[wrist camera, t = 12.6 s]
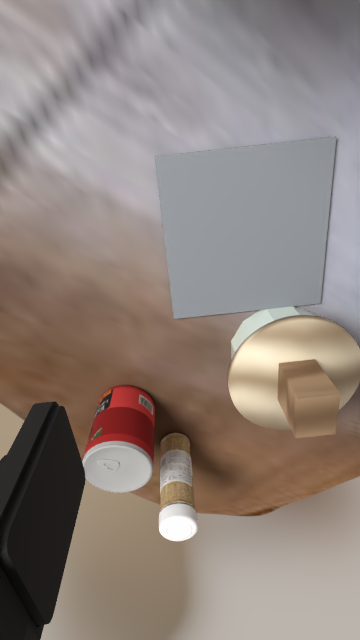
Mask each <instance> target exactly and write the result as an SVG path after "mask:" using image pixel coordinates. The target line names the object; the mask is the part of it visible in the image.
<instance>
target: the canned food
mask: <svg viewBox="0 0 360 640" xmlns="http://www.w3.org/2000/svg"><path fill="white" fill-rule="evenodd" d="M154 426H155V406H154V404H153V401H152V399H151V397H150V396H149V395H148V394H147V393H146V392H145V391H144V390H142V389H140V388H138V387H135V386H131V385H119V386H115V387H113V388H111V389H109V390H107V391H106V392H105V393H104V394H103V395H102V397H101V398H100V400H99V402H98V406H97V409H96V413H95V417H94V420H93V424H92V428H91V431H90V435H89V439H88V442H87V446H86V450H85V454H84V458H83V467H84V470H85V478H86V479H87V480H88V481H89V482H90V483H91V484H93V485H94V486H96V487H98V488H100V489H102V490H106V491H109V492H118V493H120V492H129V491H133V490H136V489H139V488H141V487H142V486H144V485H145V484H146V483H147V482H148V481H149V480H150V478H151V475H152V470H153V459H154Z"/></svg>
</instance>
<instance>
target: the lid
mask: <svg viewBox="0 0 360 640" xmlns="http://www.w3.org/2000/svg"><path fill="white" fill-rule="evenodd" d="M359 382H360V349H359V346H358V344H357V343H356V341H355V340H354V339H353V338H352V337H351V335H350V334H349V333H348V332H347V331H346V330H344V329H343V328H342V327H341V326H340V325H338V324H337V323H335V322H333V321H331V320H329V319H326V318H323V317H319V316H314V315H294V316H288V317H284V318H280V319H277V320H275V321H272V322H270V323H267V324H266V325H264V326H262V327H260V328H259V329H257V330H256V331H254V332H253V333H252V334H251V335H249V336H248V337H247V338H246V339H245V340H244V341H243V342H242V344H241V345H240V346H239V347H238V349H237V350H236V352H235V354H234V355H233V357H232V360H231V362H230V365H229V370H228V387H229V391H230V395H231V398H232V401H233V403H234V405H235V407H236V408H237V409H238V411H239V412H240V413H241V414H242V415H243V416H244V417H245V418H247V419H248V420H249V421H251V422H253V423H255V424H257V425H259V426H262V427H265V428H269V429H276V430H292V432H293V434H294V436H295V438H303V437H312V436H322V435H331V434H335V433H336V426H337V419H338V412H339V410H340V409H341V408H342V407H343V406H344V405H345V404H346V403H347V402H348V401H349V400H350V398H351V397H352V395H353V394H354V393H355V391H356V389H357V387H358V385H359Z"/></svg>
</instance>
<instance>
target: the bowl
mask: <svg viewBox="0 0 360 640" xmlns="http://www.w3.org/2000/svg"><path fill="white" fill-rule="evenodd" d="M294 315H313V314H312V313H310V312H307V311H305V310H303V309H300V308H298V307H296V306H292V307H283V308H273V309H264V310H260V311H258V312H257V313H255V314H254V315H252V316H250V317H249V318H247V319H246V320H244V321H243V322H242V324H241V325H240V327H239V329H238V331H237V332H236V334H235V336H234V337H233V339H232V341H231V355H232V357H233V355H234V354H235V352H236V350H237V349H238V347H239V346H240V345H241V344H242V342H243V341H244V340H245V339H246V338H247V337H248V336H249V335H251V334H252V333H253V332H254V331H256V330H257V329H259V328H260V327H262V326H264V325H266V324H267V323H270V322H272V321H275V320H277V319H280V318H284V317H288V316H294Z"/></svg>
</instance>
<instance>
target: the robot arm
mask: <svg viewBox="0 0 360 640" xmlns="http://www.w3.org/2000/svg"><path fill="white" fill-rule="evenodd" d="M84 485H85V470H84V467H83V463H82V460H81V457H80V454H79V451H78V448H77V445H76V442H75V438H74V435H73V432H72V429H71V426H70V423H69V420H68V417H67V414H66V410H65V408H64V407H63V406H59V405H58V404H57V402H46V403H36V404H34V405H33V406H32V408H31V410H30V412H29V414H28V416H27V418H26V419H25V421H24V423H23V425H22V427H21V429H20V431H19V433H18V435H17V437H16V439H15V441H14V443H13V445H12V446H11V448H10V450H9V452H8V454H7V455H5V456H4V457H3V458H2V459H1V460H0V640H40V639H41V634H42V631H43V627H44V624H49V623H50V621H51V619H52V617H53V613H54V609H55V605H56V601H57V596H58V593H59V588H60V584H61V580H62V576H63V572H64V568H65V564H66V559H67V555H68V551H69V547H70V543H71V539H72V534H73V530H74V527H75V522H76V518H77V514H78V510H79V506H80V501H81V497H82V493H83V489H84Z"/></svg>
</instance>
